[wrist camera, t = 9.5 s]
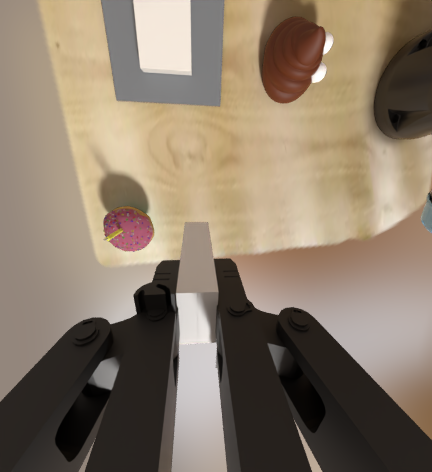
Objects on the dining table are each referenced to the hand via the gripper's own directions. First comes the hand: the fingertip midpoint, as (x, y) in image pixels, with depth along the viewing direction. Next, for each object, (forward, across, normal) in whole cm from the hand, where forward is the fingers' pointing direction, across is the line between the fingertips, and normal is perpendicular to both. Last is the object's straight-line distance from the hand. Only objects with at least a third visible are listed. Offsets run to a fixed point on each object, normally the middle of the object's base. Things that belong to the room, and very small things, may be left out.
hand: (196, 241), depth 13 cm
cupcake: (+27, +12, +9) cm, 31 cm away
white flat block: (+25, +4, -15) cm, 29 cm away
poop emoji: (+27, -14, -17) cm, 35 cm away
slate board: (+26, +4, -18) cm, 32 cm away
